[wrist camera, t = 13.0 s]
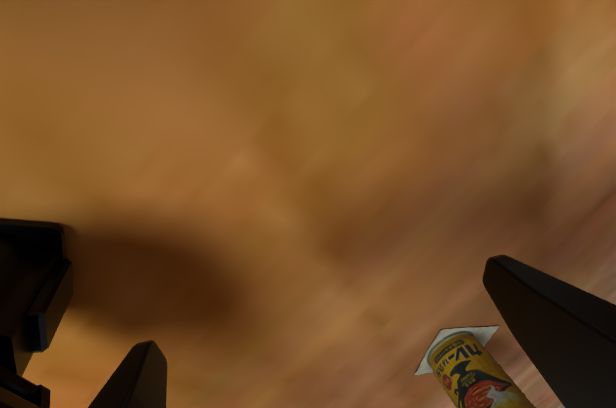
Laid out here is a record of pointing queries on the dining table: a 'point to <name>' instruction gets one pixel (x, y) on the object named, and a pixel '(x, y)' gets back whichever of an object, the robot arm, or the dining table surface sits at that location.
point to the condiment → (471, 370)
